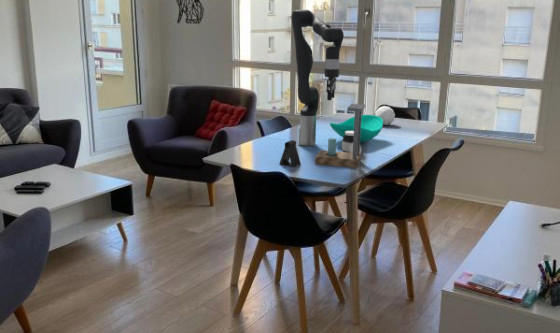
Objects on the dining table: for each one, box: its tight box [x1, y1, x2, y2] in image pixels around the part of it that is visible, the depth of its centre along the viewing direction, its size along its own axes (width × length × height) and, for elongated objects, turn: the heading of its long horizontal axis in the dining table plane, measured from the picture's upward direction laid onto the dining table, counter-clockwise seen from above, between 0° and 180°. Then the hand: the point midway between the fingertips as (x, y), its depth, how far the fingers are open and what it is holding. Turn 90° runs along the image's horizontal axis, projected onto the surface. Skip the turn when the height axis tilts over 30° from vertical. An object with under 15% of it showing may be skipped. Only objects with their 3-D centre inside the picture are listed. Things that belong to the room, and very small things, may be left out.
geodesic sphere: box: [374, 105, 396, 126], centre depth 380 cm, size 14×14×14 cm
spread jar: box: [341, 131, 362, 153], centre depth 301 cm, size 12×11×12 cm
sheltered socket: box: [314, 103, 366, 169], centre depth 280 cm, size 22×14×30 cm, turn 75°
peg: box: [327, 137, 337, 156], centre depth 283 cm, size 4×4×12 cm
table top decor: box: [329, 114, 384, 143], centre depth 329 cm, size 40×28×13 cm
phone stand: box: [279, 139, 302, 168], centre depth 278 cm, size 9×6×12 cm, turn 57°
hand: (330, 99), depth 292 cm, fingers open, 8 cm apart
